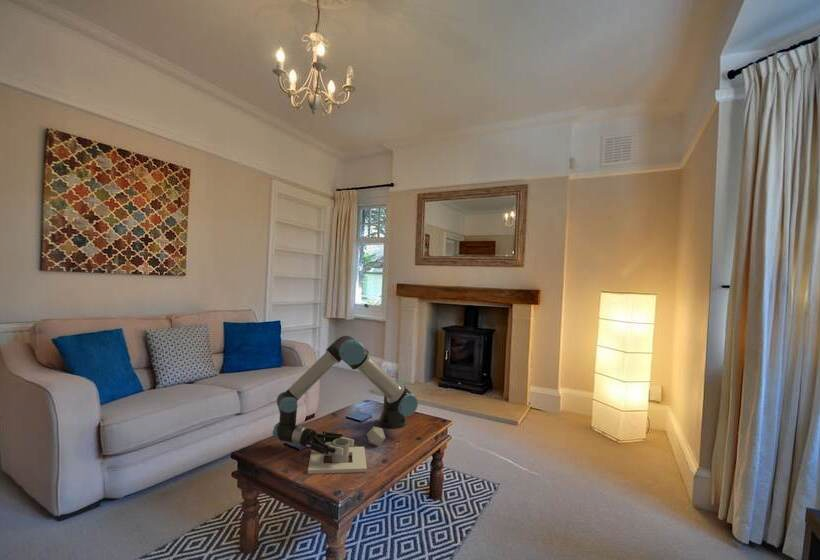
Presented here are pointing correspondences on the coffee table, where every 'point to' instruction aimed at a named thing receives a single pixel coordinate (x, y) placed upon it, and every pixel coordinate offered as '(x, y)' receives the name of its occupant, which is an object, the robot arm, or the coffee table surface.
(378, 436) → the die
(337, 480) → the coffee table surface
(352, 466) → the beige flat frame
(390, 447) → the coffee table surface
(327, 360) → the robot arm
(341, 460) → the cup
